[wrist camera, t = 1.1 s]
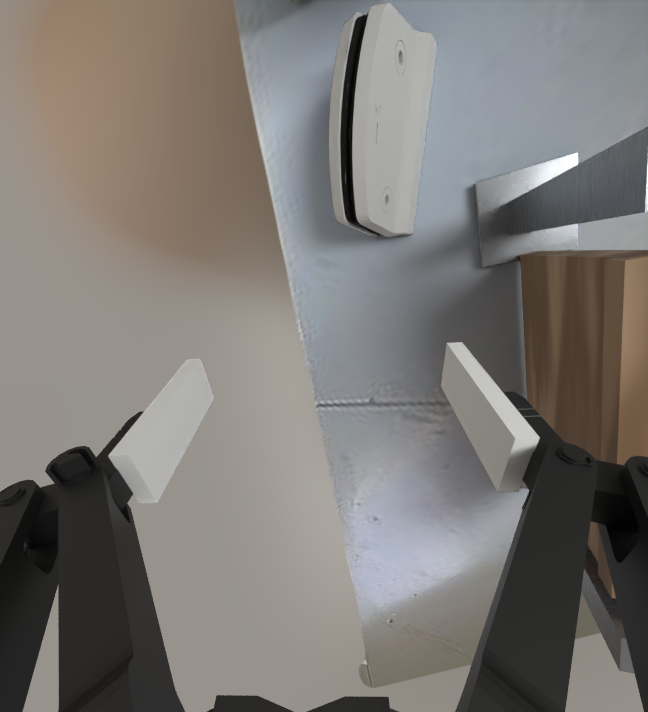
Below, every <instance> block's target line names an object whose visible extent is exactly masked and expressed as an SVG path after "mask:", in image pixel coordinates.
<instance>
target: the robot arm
mask: <svg viewBox="0 0 648 712" xmlns="http://www.w3.org/2000/svg"><path fill="white" fill-rule="evenodd" d="M441 388H442V390H443V392H444V393H445V395H446V397H447V399H448V401H449V403H450V405H451V406H452V408H453V410H454V412H455V414H456V416H457V418H458V420H459V421H460V423H461V425H462V427H463V429H464V431H465V433H466V434H467V436H468V438H469V440H470V442H471V444H472V446H473V448H474V449H475V451H476V453H477V455H478V457H479V459H480V461H481V462H482V464H483V466H484V468H485V470H486V472H487V474H488V476H489V477H490V479H491V481H492V483H493V485H494V487H495V489H496V490H497V492H519V490H520V487H521V485H522V482H523V481H524V483H525V485H526V486H527V488H528V489H529V493H528V495H527V498H526V500H525V503H524V505H523V507H522V509H523V510H522V514H521V517H520V520H519V523H518V526H517V529H516V532H515V535H514V538H513V541H512V544H511V547H510V550H509V553H508V556H507V559H506V562H505V565H504V568H503V571H502V574H501V577H500V580H499V583H498V586H497V589H496V592H495V596H494V599H493V602H492V605H491V608H490V611H489V614H488V617H487V620H486V623H485V626H484V629H483V632H482V635H481V638H480V641H479V644H478V647H477V650H476V653H475V656H474V659H473V662H472V665H471V668H470V672H469V674H468V678H467V681H466V684H465V687H464V690H463V693H462V695H461V698H460V701H459V703H458V706H457V709H456V711H455V712H565V707H566V700H567V693H568V684H569V678H570V670H571V663H572V656H573V648H574V641H575V633H576V626H577V618H578V611H579V604H580V596H581V589H582V581H583V574H584V567H585V559H586V552H587V544H588V537H589V530H590V522H595V523H598V527H599V531H600V535H601V539H602V543H603V547H604V551H605V556H606V560H607V564H608V568H609V572H610V576H611V580H612V584H613V588H614V592H615V596H616V600H617V604H618V608H619V612H620V616H621V620H622V624H623V628H624V632H625V636H626V640H627V644H628V648H629V652H630V656H631V660H632V665H633V669H634V673H635V677H636V680H637V684H638V689H639V693H640V697H641V701H642V705H643V709H644V712H648V457H645V456H633V457H630V458H629V459H628V460H627V461H626V463H625V465H620V464H615V463H609V462H604V461H599V460H595V459H594V458H593V456H592V455H591V454H589V453H588V452H587V451H585V450H584V449H582V448H580V447H578V446H576V445H573V444H569V443H566V442H564V441H563V440H562V439H561V438H560V437H559V436H558V435H557V433H556V432H555V431H554V430H553V429H552V428H551V427H550V426H549V424H548V423H547V422H546V421H545V420H544V419H543V418H542V417H540V414H539V413H538V412H537V411H536V410H534V409H533V407H532V406H531V404H530V403H529V402H528V401H527V400H526V399H525V398H523V397H522V396H520V395H518V394H517V393H515V392H502V391H501V389H500V388H499V387H498V386H497V385H496V383H495V382H494V381H493V380H492V378H491V377H490V376H489V375H488V373H487V372H486V371H485V370H484V369H483V367H482V366H481V365H480V364H479V362H478V361H477V360H476V359H475V358H474V356H473V355H472V354H471V353H470V351H469V350H468V349H467V348H466V347H465V345H464V344H463V343H462V342H456V343H447V345H446V352H445V359H444V366H443V373H442V380H441ZM213 400H214V396H213V394H212V391H211V388H210V385H209V382H208V379H207V376H206V373H205V370H204V367H203V364H202V361H201V359H200V358H199V359H187V360H186V361H185V362H184V364H183V365H182V366H181V367H180V369H179V370H178V371H177V372H176V373H175V375H174V376H173V377H172V378H171V380H170V381H169V382H168V383H167V384H166V386H165V387H164V388H163V389H162V390H161V392H160V393H159V394H158V395H157V396H156V398H155V399H154V400H153V401H152V403H151V404H150V405H149V406H148V408H147V409H146V410H145V411H144V412H139V413H137V414H136V415H135V416H133V417H132V418H130V419H129V420H128V421H127V422H126V423H125V425H124V426H123V427H122V428H121V430H119V432H118V433H117V434H116V435H115V437H114V438H113V439H112V440H111V441H110V442H109V443H108V445H107V446H106V447H105V448H104V449H103V450H102V452H101V453H100V454H99V455H98V456H97V457H95V455H94V454H93V452H92V451H91V450H90V448H89V447H86V446H81V447H75V448H73V449H70V450H67V451H65V452H64V453H62V454H60V455H59V456H58V457H56V458H55V459H53V460H52V461H51V462H50V463H49V465H48V466H47V468H46V471H45V472H46V473H47V474H48V475H49V477H50V478H51V479H52V480H53V481H54V483H55V484H52V485H48V486H45V487H41V488H40V487H39V486H38V485H37V484H36V483H35V482H34V481H33V480H25V481H20V482H18V483H15V484H13V485H11V486H9V487H7V488H6V489H4V490H2V491H1V492H0V712H22V711H23V708H24V704H25V701H26V697H27V693H28V690H29V686H30V683H31V679H32V675H33V672H34V668H35V665H36V661H37V658H38V654H39V651H40V647H41V643H42V640H43V636H44V633H45V629H46V625H47V622H48V618H49V615H50V611H51V608H52V604H53V600H54V597H55V593H56V590H57V586H58V583H59V711H58V712H185V711H184V708H183V706H182V704H181V702H180V700H179V698H178V696H177V693H176V690H175V687H174V684H173V679H172V675H171V671H170V667H169V663H168V659H167V655H166V651H165V647H164V643H163V639H162V635H161V631H160V627H159V623H158V618H157V614H156V611H155V606H154V602H153V598H152V594H151V590H150V585H149V581H148V577H147V573H146V569H145V565H144V561H143V557H142V553H141V549H140V545H139V541H138V537H137V533H136V528H135V524H134V520H133V516H132V512H131V508H130V507H129V505H128V504H127V503H128V501H129V500H130V498H131V496H132V495H134V497H135V498H136V500H137V502H138V503H139V504H145V503H157V502H158V501H159V499H160V497H161V495H162V493H163V491H164V490H165V488H166V486H167V484H168V482H169V480H170V479H171V477H172V475H173V473H174V471H175V470H176V468H177V466H178V464H179V462H180V460H181V459H182V457H183V455H184V453H185V451H186V449H187V447H188V445H189V444H190V442H191V440H192V438H193V436H194V435H195V433H196V431H197V429H198V427H199V425H200V424H201V422H202V420H203V418H204V416H205V414H206V412H207V411H208V409H209V407H210V405H211V403H212V401H213ZM207 712H293V711H291V710H288V709H286V708H284V707H282V706H280V705H277V704H275V703H273V702H270V701H268V700H265V699H264V698H261V697H259V696H224V695H223V696H221V695H218V696H216V701H215V705H214V708H213V709H211V710H209V711H207ZM308 712H398V711H396V710H393V709H391V708H390V707H389V698H388V697H343V698H341V699H338V700H335V701H333V702H330V703H328V704H325V705H323V706H321V707H318V708H315V709H313V710H310V711H308Z"/></svg>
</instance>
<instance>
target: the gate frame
mask: <svg viewBox="0 0 648 712" xmlns="http://www.w3.org/2000/svg"><path fill="white" fill-rule="evenodd" d="M474 189H475V201H476V213H477V224H478V236H479V248H480V260H481V267H488V266H492V265H497V264H502V263H507V262H512V261H517V260H521V259H520V255H522V254H527V253H532V252H536V251H565V250H570V249H575V248H578V224H579V223H585V222H591V221H596V220H602V219H608V218H614V217H619V216H625V215H631V214H637V213H643V212H647V211H648V127H647V128H645V129H643V130H641V131H639V132H637V133H635V134H634V135H632V136H630V137H628V138H626V139H624V140H622V141H621V142H619V143H617V144H615V145H613V146H611V147H609V148H608V149H606V150H604V151H602V152H600V153H598V154H597V155H595V156H593V157H591V158H589V159H587V160H585V161H584V162H582V163H580V164H578V153H574V154H571V155H567V156H564V157H561V158H557V159H554V160H550V161H547V162H544V163H540V164H537V165H533V166H530V167H527V168H523V169H520V170H516V171H513V172H510V173H506V174H503V175H499V176H496V177H493V178H489V179H486V180H483V181H479V182H476V183H475V184H474ZM520 488H527V486H526V485H525V483H524V481H523V482H522V485H521V487H520ZM581 592H582V594H583V596H584V598H585V600H586V602H587V605H588V607H589V609H590V611H591V613H592V615H593V617H594V619H595V621H596V623H597V625H598V627H599V629H600V631H601V633H602V635H603V638H604V640H605V642H606V644H607V646H608V648H609V650H610V652H611V654H612V656H613V658H614V660H615V662H616V664H617V666H618V668H619V670H620V671H624V672H629V673H634V669H633V665H632V660H631V656H630V652H629V648H628V644H627V640H626V636H625V632H624V628H623V624H622V620H621V616H620V612H619V608H618V604H617V600H616V598H611V596H610V594H609V592H608V591H607V589H606V587H605V585H604V584H603V582H602V580H601V578H600V577H599V575H598V561H597V560H596V558H595V556H594V555H593V553H592V551H591V549H590V548H589V546H588V544H587V552H586V559H585V567H584V574H583V581H582V589H581Z"/></svg>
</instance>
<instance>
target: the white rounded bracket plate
mask: <svg viewBox="0 0 648 712" xmlns="http://www.w3.org/2000/svg"><path fill="white" fill-rule="evenodd" d="M437 46H438V44H437V42H436V40H435V38H434V36H433V35H432V34H431V33H427V32H421V31H416V30H415V29H414V28H413V27H412V26H411V25H410V24H409V23H408V22H407V21H406V20H405V19H404V18H403V17H402V15H401V14H400V13H399V12H398V11H397V10H396V9H395V8H394V7H393V6H392V5H391V4H390V3H383V4H376V5H372V7H371V8H370V10H369V13H368V14H367V15H363V14H362V13H360V12H357V13H356V14H355V15H353V16H352V17H351V18H350V19H349V20H348V21H346V22H345V23H344V25H343V27H342V31H341V35H340V40H339V44H338V49H337V54H336V60H335V66H334V73H333V81H332V90H331V101H330V117H329V166H330V182H331V192H332V201H333V208H334V215H335V218H336V220H337V221H338V222H339V223H341V224H344V225H346V226H348V227H351V228H353V229H355V230H358V231H360V232H362V233H365V234H367V235H370V236H374V237H377V234H382V235H384V236H386V237H392V236H398V235H403V234H405V235H412V234H413V233H414V225H415V218H416V210H417V202H418V194H419V186H420V179H421V171H422V163H423V155H424V148H425V140H426V132H427V124H428V116H429V109H430V101H431V93H432V85H433V77H434V70H435V62H436V54H437Z"/></svg>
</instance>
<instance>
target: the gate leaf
mask: <svg viewBox="0 0 648 712" xmlns="http://www.w3.org/2000/svg"><path fill="white" fill-rule="evenodd" d="M520 259H521V280H522V300H523V320H524V340H525V361H526V381H527V401H528V402H529V403H530V404H531V406H532V407H533V409H534V410H536V411H537V412H538V413H539V414H540V417H542V418H543V419H544V420H545V421H546V422H547V423H548V424H549V426H550V427H551V428H552V429H553V430H554V431H555V432H556V433H557V435H558V436H559V437H560V438H561V439H562V440H563V441H564V442H566V443H569V444H573V445H576V446H578V447H580V448H582V449H584V450H585V451H587V452H588V453H589V454H591V455H592V456H593V458H594V459H595V460H599V461H604V462H609V463H615V464H620V465H625V463H626V461H627V460H628V459H629V458H630V457H633V456H645V457H648V250H591V251H536V252H532V253H527V254H522V255H520ZM588 546H589V548H590V549H591V551H592V553H593V555H594V556H595V558H596V560H597V561H598V575H599V577H600V578H601V580H602V582H603V584H604V585H605V587H606V589H607V591H608V592H609V594H610V596H611V598H616V596H615V592H614V588H613V584H612V580H611V576H610V572H609V568H608V564H607V560H606V556H605V551H604V547H603V543H602V539H601V535H600V531H599V527H598V523H595V522H590V530H589V537H588Z"/></svg>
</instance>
